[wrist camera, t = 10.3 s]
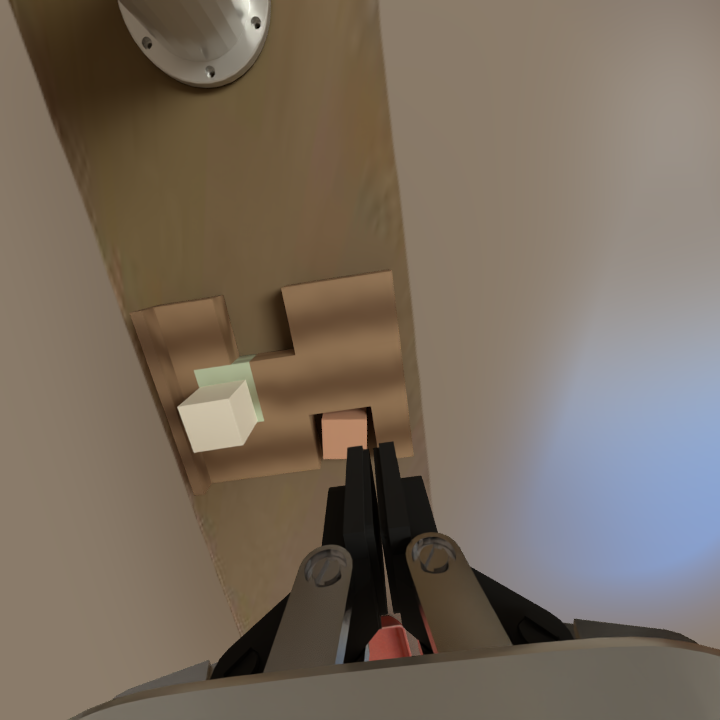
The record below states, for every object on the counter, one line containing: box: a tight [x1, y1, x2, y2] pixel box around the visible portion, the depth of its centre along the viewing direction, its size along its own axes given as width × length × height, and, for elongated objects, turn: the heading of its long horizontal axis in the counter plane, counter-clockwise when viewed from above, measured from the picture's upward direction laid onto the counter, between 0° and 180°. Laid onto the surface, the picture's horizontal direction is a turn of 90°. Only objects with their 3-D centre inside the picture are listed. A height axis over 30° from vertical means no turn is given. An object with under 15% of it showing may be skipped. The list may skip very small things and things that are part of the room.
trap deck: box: [130, 269, 414, 496], centre depth 37 cm, size 21×25×5 cm
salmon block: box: [322, 407, 367, 459], centre depth 40 cm, size 5×5×4 cm
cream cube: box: [177, 380, 258, 453], centre depth 35 cm, size 5×5×5 cm
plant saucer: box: [369, 616, 412, 661], centre depth 53 cm, size 18×18×3 cm
